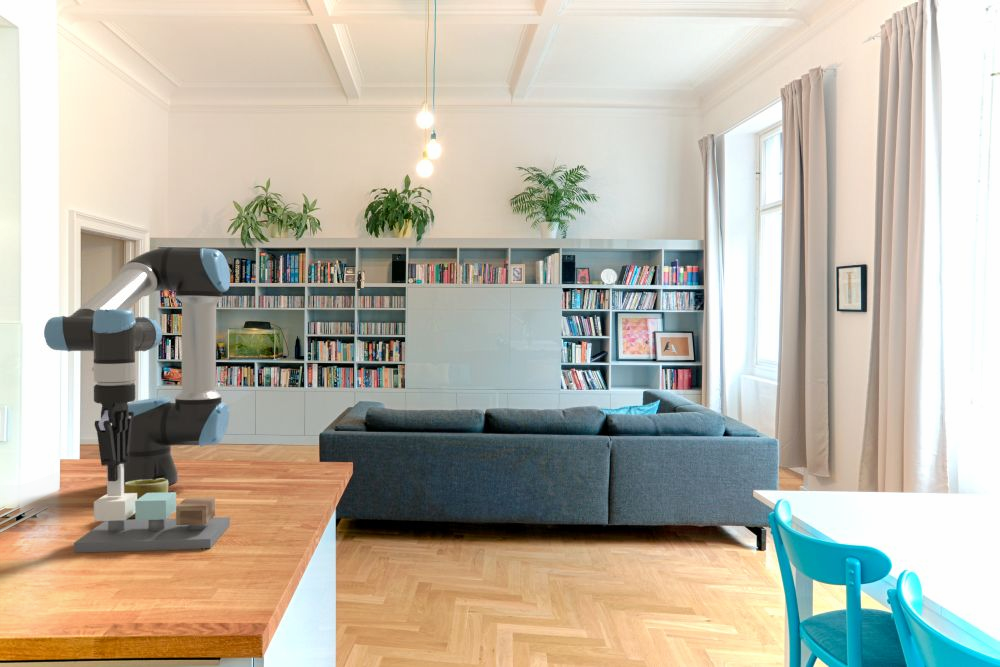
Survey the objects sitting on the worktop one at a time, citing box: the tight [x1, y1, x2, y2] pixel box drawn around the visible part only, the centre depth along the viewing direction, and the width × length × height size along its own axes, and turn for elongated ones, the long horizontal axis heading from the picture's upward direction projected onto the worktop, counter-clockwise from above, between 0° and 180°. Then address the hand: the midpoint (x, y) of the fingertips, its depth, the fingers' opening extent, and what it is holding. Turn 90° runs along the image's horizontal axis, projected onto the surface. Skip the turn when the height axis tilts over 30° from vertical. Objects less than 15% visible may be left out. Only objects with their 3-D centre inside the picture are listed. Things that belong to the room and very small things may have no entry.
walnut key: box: [175, 496, 216, 525], centre depth 142 cm, size 6×6×4 cm
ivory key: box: [93, 493, 137, 522], centre depth 140 cm, size 6×6×4 cm
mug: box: [124, 478, 169, 520], centre depth 158 cm, size 12×10×10 cm
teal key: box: [135, 491, 177, 520], centre depth 141 cm, size 6×6×4 cm
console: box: [73, 516, 231, 553], centre depth 142 cm, size 14×26×5 cm, turn 97°
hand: (115, 494), depth 140 cm, fingers closed
